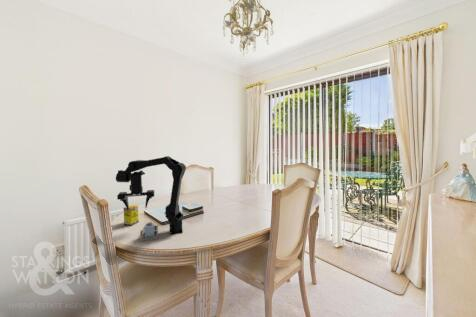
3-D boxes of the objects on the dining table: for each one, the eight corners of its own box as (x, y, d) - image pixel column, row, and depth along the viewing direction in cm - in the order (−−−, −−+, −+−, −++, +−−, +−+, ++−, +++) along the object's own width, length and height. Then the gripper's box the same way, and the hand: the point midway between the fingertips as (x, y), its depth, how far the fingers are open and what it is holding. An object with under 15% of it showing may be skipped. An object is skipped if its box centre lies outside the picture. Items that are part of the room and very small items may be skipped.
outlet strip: (158, 227, 125) (158, 225, 125) (157, 239, 111) (157, 236, 111) (142, 229, 123) (142, 227, 122) (139, 241, 108) (139, 239, 108)
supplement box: (131, 226, 127) (131, 208, 126) (123, 224, 129) (123, 207, 128) (139, 222, 133) (138, 205, 132) (131, 221, 134) (130, 204, 133)
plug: (154, 234, 116) (154, 221, 115) (154, 238, 112) (153, 224, 111) (145, 235, 115) (145, 222, 114) (145, 239, 111) (144, 225, 110)
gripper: (154, 178, 130) (155, 203, 131) (120, 180, 124) (121, 206, 125) (153, 182, 119) (154, 209, 121) (116, 184, 113) (117, 212, 115)
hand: (137, 209), depth 121 cm, fingers open, 9 cm apart
